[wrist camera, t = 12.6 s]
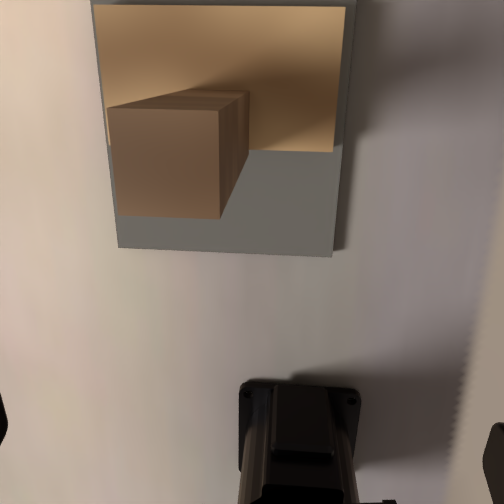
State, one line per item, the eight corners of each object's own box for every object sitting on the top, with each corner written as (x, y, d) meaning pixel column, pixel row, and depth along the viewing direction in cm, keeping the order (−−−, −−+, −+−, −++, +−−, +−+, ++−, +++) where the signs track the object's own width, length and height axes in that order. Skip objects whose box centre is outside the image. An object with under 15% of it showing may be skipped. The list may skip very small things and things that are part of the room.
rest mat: (330, 252, 20) (332, 257, 20) (122, 242, 21) (118, 247, 21) (359, -53, 16) (362, -57, 15) (90, -53, 16) (83, -57, 16)
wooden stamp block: (330, 152, 18) (364, 225, 10) (118, 146, 19) (-17, 209, 10) (342, 10, 16) (398, -49, 8) (103, 8, 17) (-78, -50, 8)
